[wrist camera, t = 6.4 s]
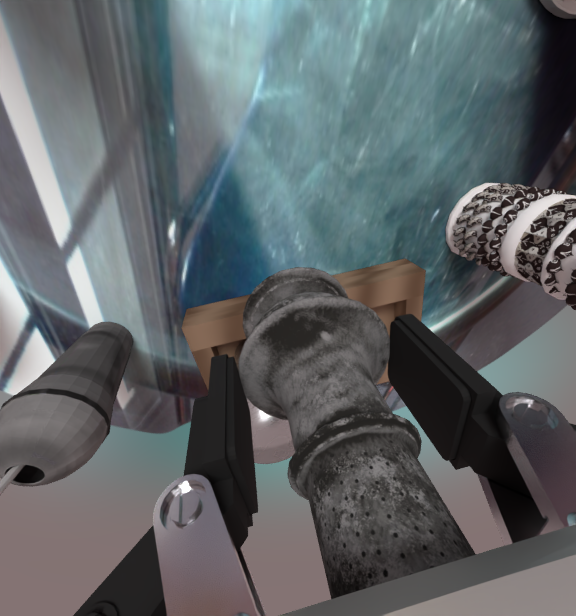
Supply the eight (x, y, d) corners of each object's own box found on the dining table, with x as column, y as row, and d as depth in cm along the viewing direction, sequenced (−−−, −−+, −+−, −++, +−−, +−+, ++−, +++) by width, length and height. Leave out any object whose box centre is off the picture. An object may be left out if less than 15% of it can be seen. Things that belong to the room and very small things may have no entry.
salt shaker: (317, 377, 16) (482, 803, 6) (216, 347, 14) (177, 954, 3) (378, 289, 14) (828, 709, 3) (270, 238, 12) (606, 952, 1)
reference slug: (278, 329, 33) (302, 408, 23) (287, 367, 36) (310, 452, 26) (228, 341, 33) (228, 428, 22) (241, 378, 36) (246, 470, 25)
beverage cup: (122, 374, 34) (13, 602, 17) (58, 342, 31) (-160, 587, 13) (159, 335, 32) (82, 543, 15) (97, 297, 29) (-93, 508, 12)
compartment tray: (405, 258, 34) (425, 270, 30) (400, 355, 41) (416, 374, 38) (186, 309, 31) (181, 328, 28) (223, 401, 39) (223, 425, 36)
